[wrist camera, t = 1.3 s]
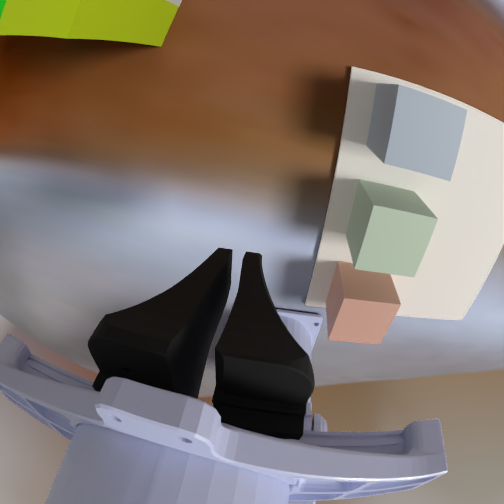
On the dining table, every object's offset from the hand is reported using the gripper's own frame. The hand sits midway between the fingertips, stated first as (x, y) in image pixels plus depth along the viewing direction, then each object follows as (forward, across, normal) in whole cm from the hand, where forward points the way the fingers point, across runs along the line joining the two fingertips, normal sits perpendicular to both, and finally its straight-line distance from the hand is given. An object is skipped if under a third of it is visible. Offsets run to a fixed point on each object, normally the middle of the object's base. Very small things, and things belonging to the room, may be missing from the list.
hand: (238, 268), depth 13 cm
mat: (+9, -14, 0) cm, 17 cm away
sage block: (+9, -9, 0) cm, 13 cm away
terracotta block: (+9, -9, +7) cm, 15 cm away
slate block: (+9, -9, -7) cm, 15 cm away
